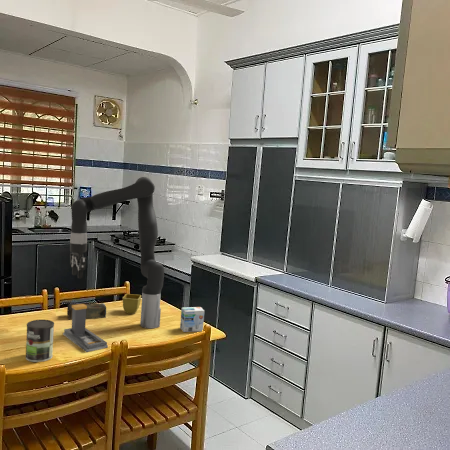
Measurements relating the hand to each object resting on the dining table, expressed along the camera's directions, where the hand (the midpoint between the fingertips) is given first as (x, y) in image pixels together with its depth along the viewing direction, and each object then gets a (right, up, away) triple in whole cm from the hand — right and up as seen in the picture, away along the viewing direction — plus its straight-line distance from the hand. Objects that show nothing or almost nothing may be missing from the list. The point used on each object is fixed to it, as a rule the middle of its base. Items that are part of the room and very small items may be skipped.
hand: (77, 276), depth 219 cm
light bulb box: (+53, -29, +14) cm, 62 cm away
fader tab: (+3, -25, -7) cm, 27 cm away
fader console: (+7, -28, -12) cm, 31 cm away
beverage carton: (-2, -24, +21) cm, 32 cm away
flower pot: (+19, -24, +34) cm, 45 cm away
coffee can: (-5, -29, -33) cm, 44 cm away
